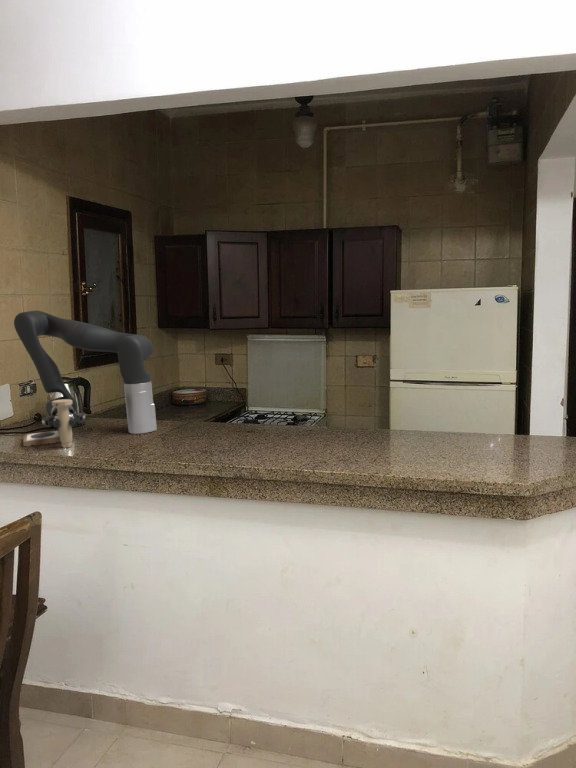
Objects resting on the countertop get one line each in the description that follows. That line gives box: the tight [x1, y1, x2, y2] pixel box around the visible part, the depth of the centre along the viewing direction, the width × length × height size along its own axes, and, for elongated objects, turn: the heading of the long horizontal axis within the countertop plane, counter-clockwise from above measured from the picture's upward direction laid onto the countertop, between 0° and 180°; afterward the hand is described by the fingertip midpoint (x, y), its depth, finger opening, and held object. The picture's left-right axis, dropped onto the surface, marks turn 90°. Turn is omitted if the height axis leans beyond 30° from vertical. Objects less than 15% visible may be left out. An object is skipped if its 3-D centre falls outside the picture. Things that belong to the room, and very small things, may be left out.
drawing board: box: [22, 429, 61, 447], centre depth 201 cm, size 12×12×2 cm
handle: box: [52, 399, 73, 449], centre depth 189 cm, size 5×6×15 cm
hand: (64, 424), depth 186 cm, fingers closed on handle, 3 cm apart
